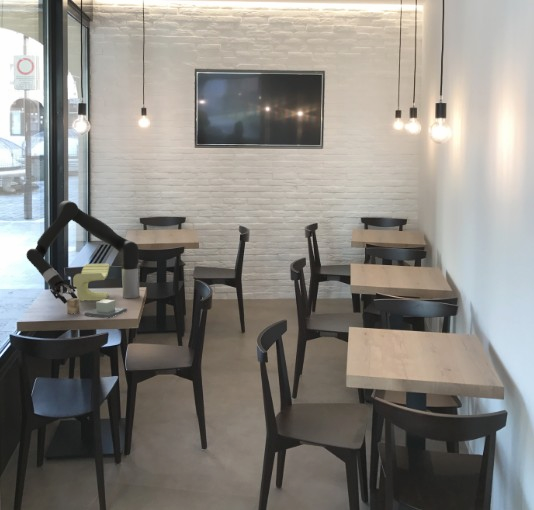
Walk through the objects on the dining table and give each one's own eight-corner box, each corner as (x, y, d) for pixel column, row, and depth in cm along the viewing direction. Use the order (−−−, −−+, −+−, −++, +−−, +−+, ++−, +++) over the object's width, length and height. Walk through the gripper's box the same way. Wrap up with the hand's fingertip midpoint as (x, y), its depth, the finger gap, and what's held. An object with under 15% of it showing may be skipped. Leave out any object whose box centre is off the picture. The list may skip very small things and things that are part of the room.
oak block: (72, 311, 390) (72, 298, 389) (79, 312, 388) (78, 298, 387) (67, 313, 386) (66, 299, 385) (74, 314, 384) (73, 300, 383)
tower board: (102, 308, 396) (102, 296, 395) (127, 311, 390) (126, 299, 389) (84, 315, 381) (83, 303, 380) (109, 318, 375) (108, 305, 374)
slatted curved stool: (84, 292, 435) (82, 264, 432) (110, 292, 436) (109, 263, 433) (74, 304, 406) (72, 273, 403) (103, 303, 407) (101, 273, 404)
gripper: (47, 276, 381) (66, 299, 378) (65, 271, 394) (83, 293, 391) (40, 285, 384) (58, 308, 381) (58, 280, 397) (76, 302, 394)
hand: (71, 300), depth 386 cm, fingers open, 8 cm apart
